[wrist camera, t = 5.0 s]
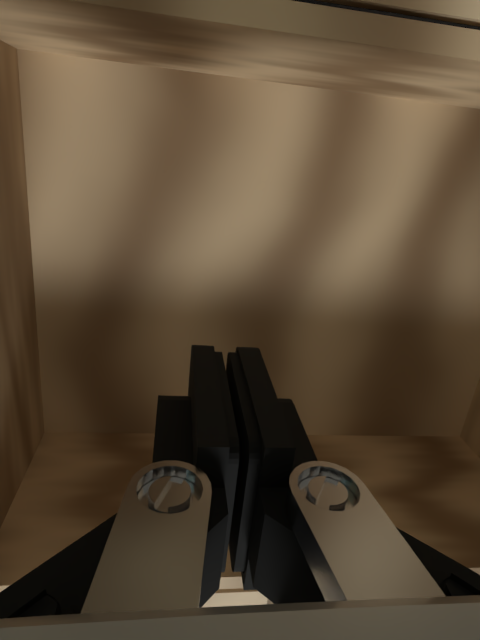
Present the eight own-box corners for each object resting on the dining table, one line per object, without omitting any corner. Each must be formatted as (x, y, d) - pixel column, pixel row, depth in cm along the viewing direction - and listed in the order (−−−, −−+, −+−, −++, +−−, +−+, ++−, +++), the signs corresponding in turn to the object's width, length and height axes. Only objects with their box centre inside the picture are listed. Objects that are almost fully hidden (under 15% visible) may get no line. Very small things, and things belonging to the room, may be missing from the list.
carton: (640, -95, 18) (1049, -300, 9) (429, 529, 29) (526, 683, 21) (-18, -238, 14) (-305, -779, 6) (44, 538, 26) (-20, 727, 18)
